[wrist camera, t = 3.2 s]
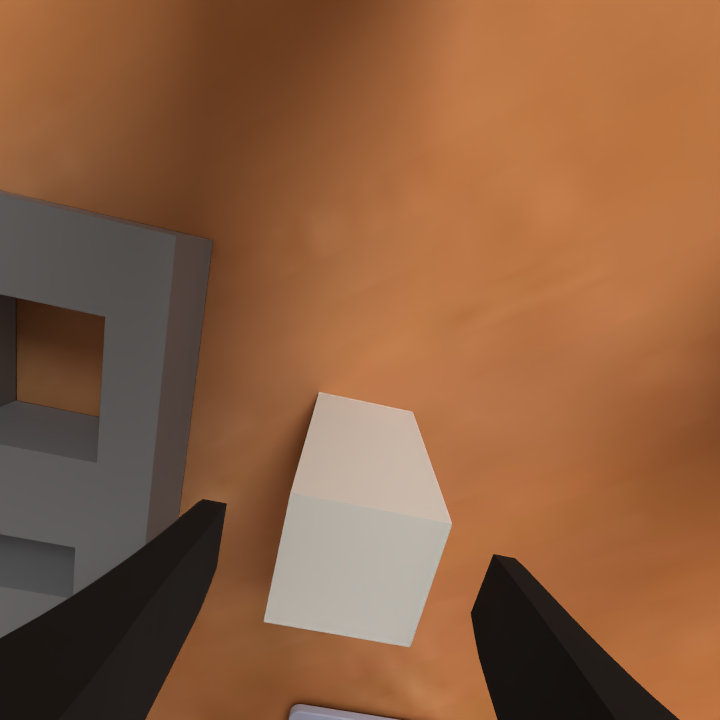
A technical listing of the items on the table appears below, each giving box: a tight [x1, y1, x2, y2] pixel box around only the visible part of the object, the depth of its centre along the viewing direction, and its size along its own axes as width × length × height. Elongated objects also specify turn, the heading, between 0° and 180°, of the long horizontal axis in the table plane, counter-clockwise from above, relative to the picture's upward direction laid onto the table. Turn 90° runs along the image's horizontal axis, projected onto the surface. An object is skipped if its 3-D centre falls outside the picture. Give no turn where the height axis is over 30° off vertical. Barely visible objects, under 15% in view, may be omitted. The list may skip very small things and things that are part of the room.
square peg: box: [264, 392, 452, 647], centre depth 13 cm, size 4×4×7 cm
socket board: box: [0, 191, 213, 638], centre depth 15 cm, size 18×11×3 cm, turn 167°
